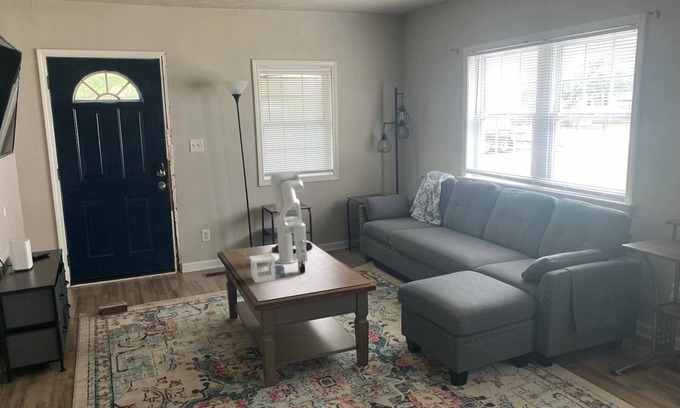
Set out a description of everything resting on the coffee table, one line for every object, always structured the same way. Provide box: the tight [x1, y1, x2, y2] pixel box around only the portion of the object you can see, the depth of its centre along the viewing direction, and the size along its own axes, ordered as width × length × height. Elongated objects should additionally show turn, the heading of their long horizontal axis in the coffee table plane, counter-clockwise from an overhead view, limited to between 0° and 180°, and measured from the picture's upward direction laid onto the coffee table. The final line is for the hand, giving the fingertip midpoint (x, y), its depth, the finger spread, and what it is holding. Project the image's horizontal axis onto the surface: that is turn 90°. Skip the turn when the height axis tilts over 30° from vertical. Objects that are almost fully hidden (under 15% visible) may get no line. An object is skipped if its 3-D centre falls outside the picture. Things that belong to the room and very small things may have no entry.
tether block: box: [275, 263, 304, 279], centre depth 320 cm, size 19×6×6 cm, turn 109°
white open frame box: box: [249, 253, 277, 284], centre depth 313 cm, size 13×13×13 cm
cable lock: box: [271, 240, 313, 254], centre depth 381 cm, size 28×4×30 cm
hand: (301, 271), depth 323 cm, fingers closed on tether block, 3 cm apart
